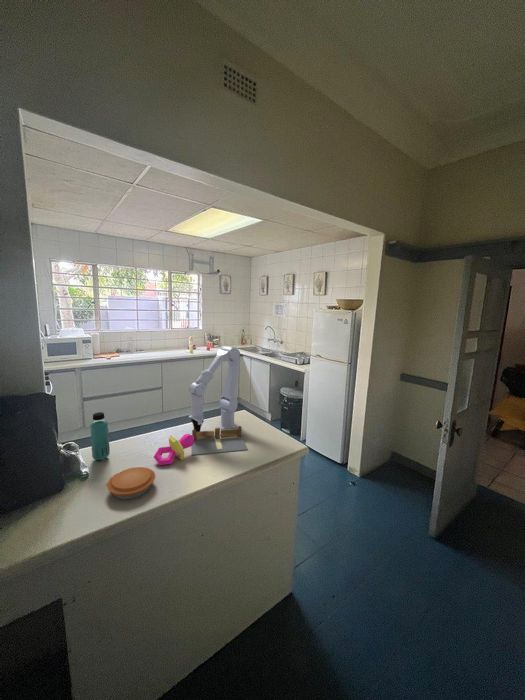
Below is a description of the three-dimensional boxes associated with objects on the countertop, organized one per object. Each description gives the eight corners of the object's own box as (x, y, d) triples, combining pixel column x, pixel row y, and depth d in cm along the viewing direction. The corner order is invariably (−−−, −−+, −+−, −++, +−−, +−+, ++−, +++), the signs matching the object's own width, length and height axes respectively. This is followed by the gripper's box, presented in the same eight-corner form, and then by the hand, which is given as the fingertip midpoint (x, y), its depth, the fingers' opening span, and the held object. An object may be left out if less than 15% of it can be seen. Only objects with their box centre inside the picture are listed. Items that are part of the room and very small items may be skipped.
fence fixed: (214, 438, 139) (214, 427, 138) (240, 435, 142) (241, 425, 141) (215, 440, 136) (215, 429, 135) (241, 437, 140) (241, 427, 139)
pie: (163, 490, 98) (162, 477, 98) (115, 511, 88) (114, 496, 87) (146, 471, 110) (145, 459, 109) (101, 487, 99) (101, 474, 98)
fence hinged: (213, 436, 138) (213, 427, 137) (214, 438, 136) (214, 429, 136) (192, 438, 135) (192, 429, 135) (192, 440, 134) (192, 431, 133)
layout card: (191, 437, 138) (191, 436, 138) (240, 433, 144) (240, 432, 144) (191, 455, 122) (191, 454, 122) (247, 449, 128) (247, 448, 128)
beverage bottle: (102, 464, 113) (99, 417, 110) (88, 462, 114) (85, 415, 111) (113, 456, 119) (111, 411, 116) (100, 454, 120) (97, 409, 117)
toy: (151, 459, 119) (148, 445, 113) (187, 436, 130) (187, 422, 124) (164, 476, 114) (161, 462, 108) (200, 450, 125) (200, 436, 119)
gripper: (186, 402, 142) (186, 428, 144) (191, 412, 129) (191, 440, 131) (200, 401, 145) (200, 426, 147) (206, 411, 132) (206, 438, 134)
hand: (197, 432), depth 139 cm, fingers closed
